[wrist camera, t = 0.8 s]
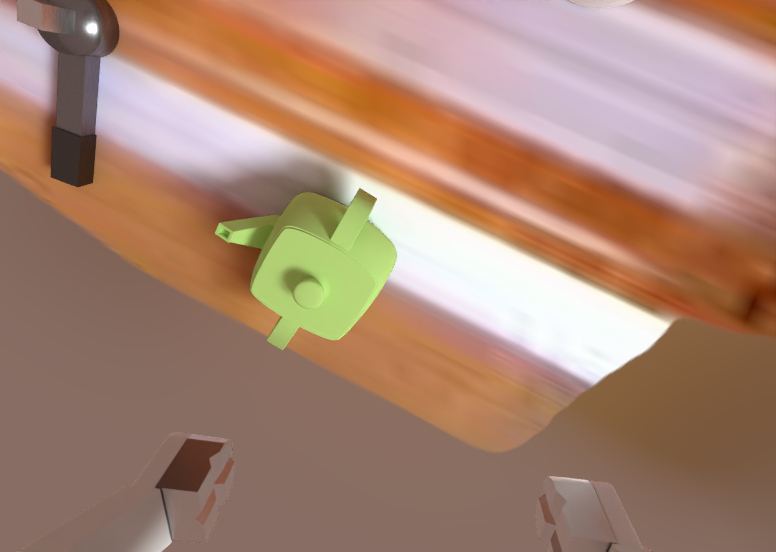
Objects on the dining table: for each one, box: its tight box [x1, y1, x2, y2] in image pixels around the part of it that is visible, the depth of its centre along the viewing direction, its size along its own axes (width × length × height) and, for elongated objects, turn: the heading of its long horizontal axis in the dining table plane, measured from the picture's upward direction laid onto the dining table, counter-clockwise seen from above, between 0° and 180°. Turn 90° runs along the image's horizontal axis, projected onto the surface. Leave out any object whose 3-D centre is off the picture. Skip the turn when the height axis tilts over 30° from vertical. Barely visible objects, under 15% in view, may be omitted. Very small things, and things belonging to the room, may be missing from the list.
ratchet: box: [17, 0, 119, 187], centre depth 44 cm, size 21×6×8 cm, turn 159°
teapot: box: [214, 189, 397, 350], centre depth 47 cm, size 18×20×13 cm
